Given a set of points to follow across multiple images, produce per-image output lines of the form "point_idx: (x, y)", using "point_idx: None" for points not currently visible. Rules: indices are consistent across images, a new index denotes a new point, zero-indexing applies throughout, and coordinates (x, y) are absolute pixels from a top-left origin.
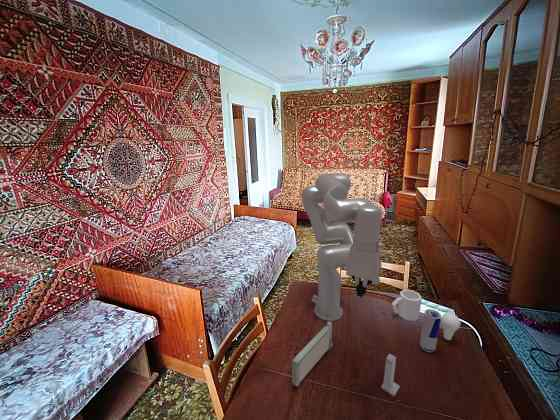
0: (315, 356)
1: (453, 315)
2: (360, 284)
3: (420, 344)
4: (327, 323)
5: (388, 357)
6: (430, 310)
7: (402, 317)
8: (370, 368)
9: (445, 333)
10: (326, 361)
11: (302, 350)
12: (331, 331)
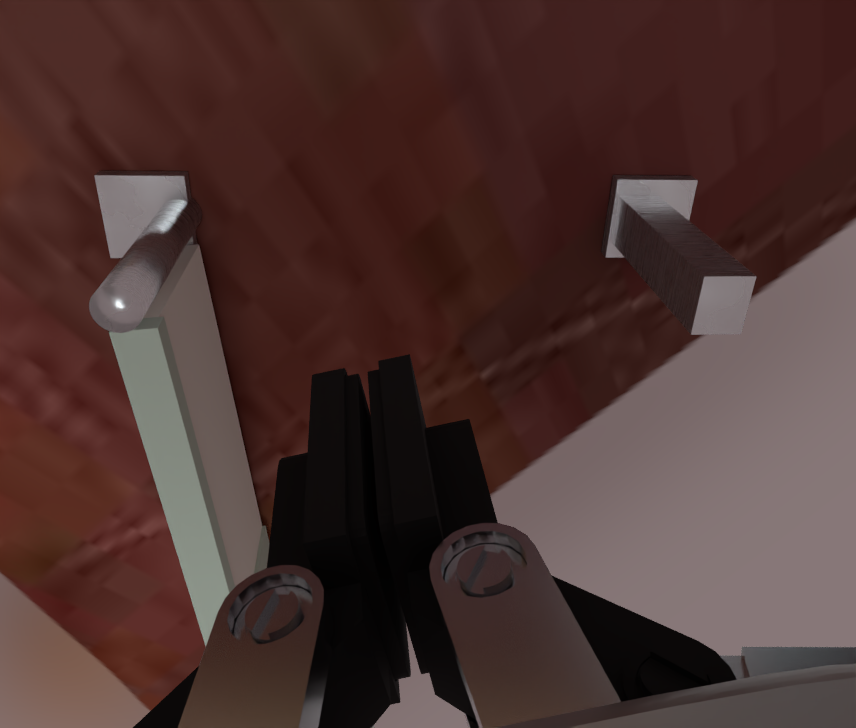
0: (224, 434)
1: None
2: (381, 641)
3: None
4: (111, 330)
5: (704, 318)
6: None
7: None
8: (498, 166)
9: None
10: (256, 316)
11: (197, 603)
12: (164, 272)
